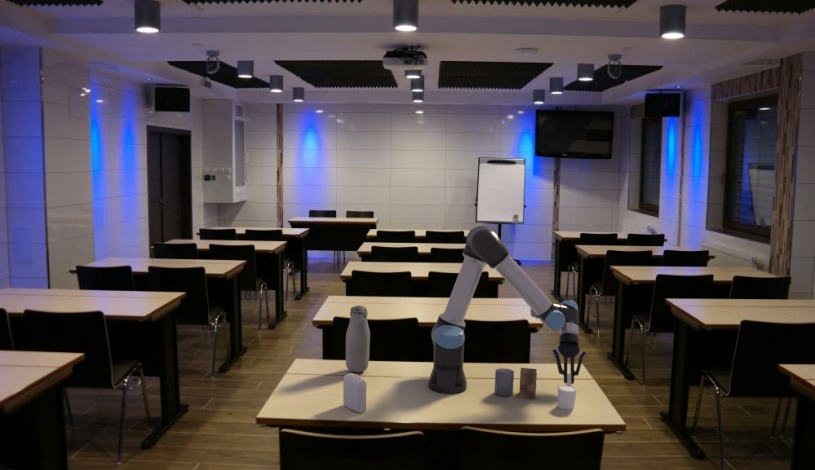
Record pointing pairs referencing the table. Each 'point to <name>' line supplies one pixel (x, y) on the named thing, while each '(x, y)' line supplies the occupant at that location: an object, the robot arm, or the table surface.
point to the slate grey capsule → (504, 382)
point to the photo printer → (354, 392)
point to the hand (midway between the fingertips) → (568, 390)
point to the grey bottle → (357, 340)
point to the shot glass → (566, 396)
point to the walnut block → (528, 383)
